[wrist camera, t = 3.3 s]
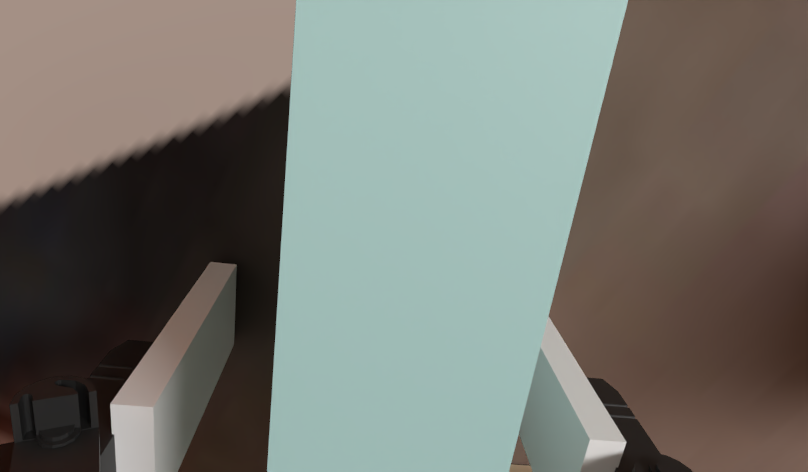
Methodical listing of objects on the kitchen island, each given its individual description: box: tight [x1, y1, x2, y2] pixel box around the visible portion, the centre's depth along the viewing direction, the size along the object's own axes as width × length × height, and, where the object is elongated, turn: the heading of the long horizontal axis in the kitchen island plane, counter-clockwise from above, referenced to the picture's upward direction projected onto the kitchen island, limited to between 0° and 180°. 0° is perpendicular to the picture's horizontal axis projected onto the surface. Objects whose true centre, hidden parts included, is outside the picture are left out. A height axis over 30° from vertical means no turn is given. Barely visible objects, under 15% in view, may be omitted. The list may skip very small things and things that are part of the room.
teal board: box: [267, 0, 628, 472], centre depth 13 cm, size 20×4×9 cm, turn 172°
